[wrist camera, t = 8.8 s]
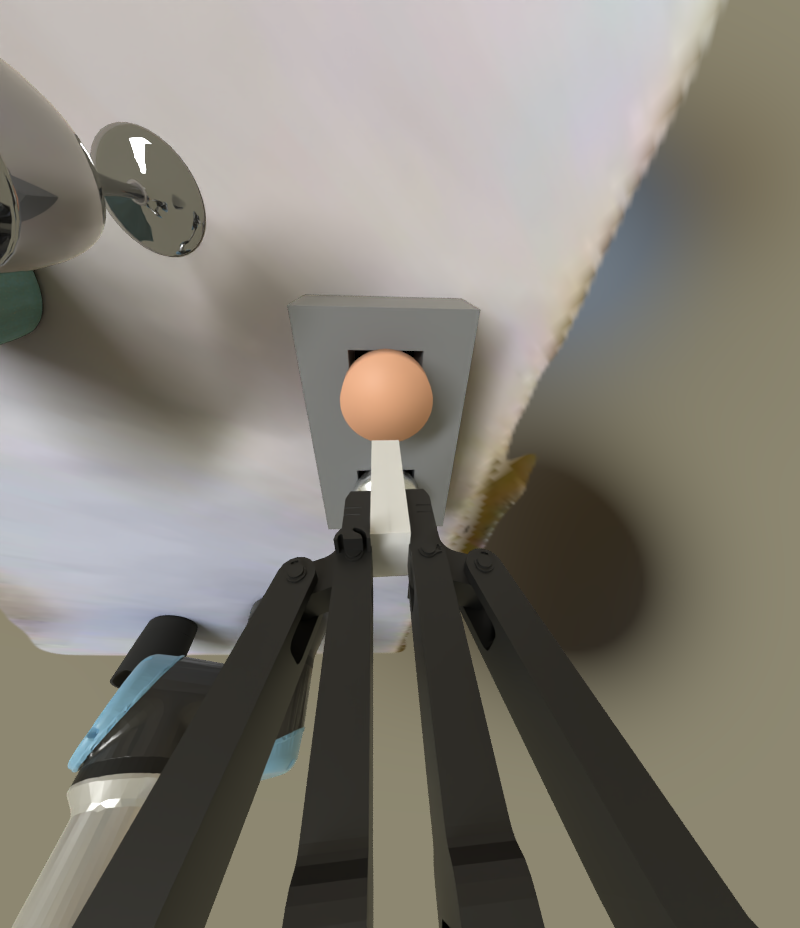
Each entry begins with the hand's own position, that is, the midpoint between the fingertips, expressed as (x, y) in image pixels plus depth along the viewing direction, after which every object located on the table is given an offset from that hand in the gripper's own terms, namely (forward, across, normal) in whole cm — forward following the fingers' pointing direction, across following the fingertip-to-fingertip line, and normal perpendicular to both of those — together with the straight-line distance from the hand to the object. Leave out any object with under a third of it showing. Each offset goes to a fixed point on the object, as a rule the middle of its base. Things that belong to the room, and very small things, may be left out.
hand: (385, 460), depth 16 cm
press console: (+16, 0, +5) cm, 17 cm away
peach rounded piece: (+14, 0, -1) cm, 14 cm away
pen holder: (+18, +43, +52) cm, 70 cm away
